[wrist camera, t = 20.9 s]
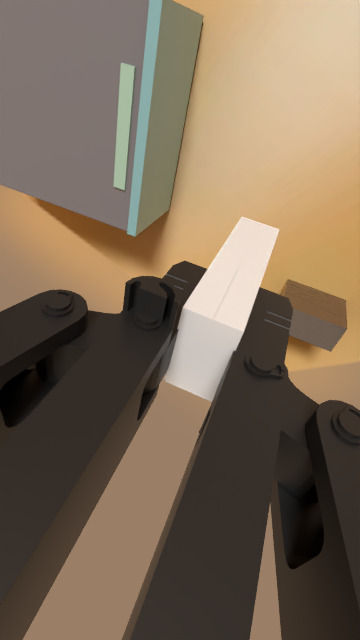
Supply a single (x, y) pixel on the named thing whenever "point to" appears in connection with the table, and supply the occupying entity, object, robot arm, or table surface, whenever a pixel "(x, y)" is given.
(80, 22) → the housing
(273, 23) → the table surface
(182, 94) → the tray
